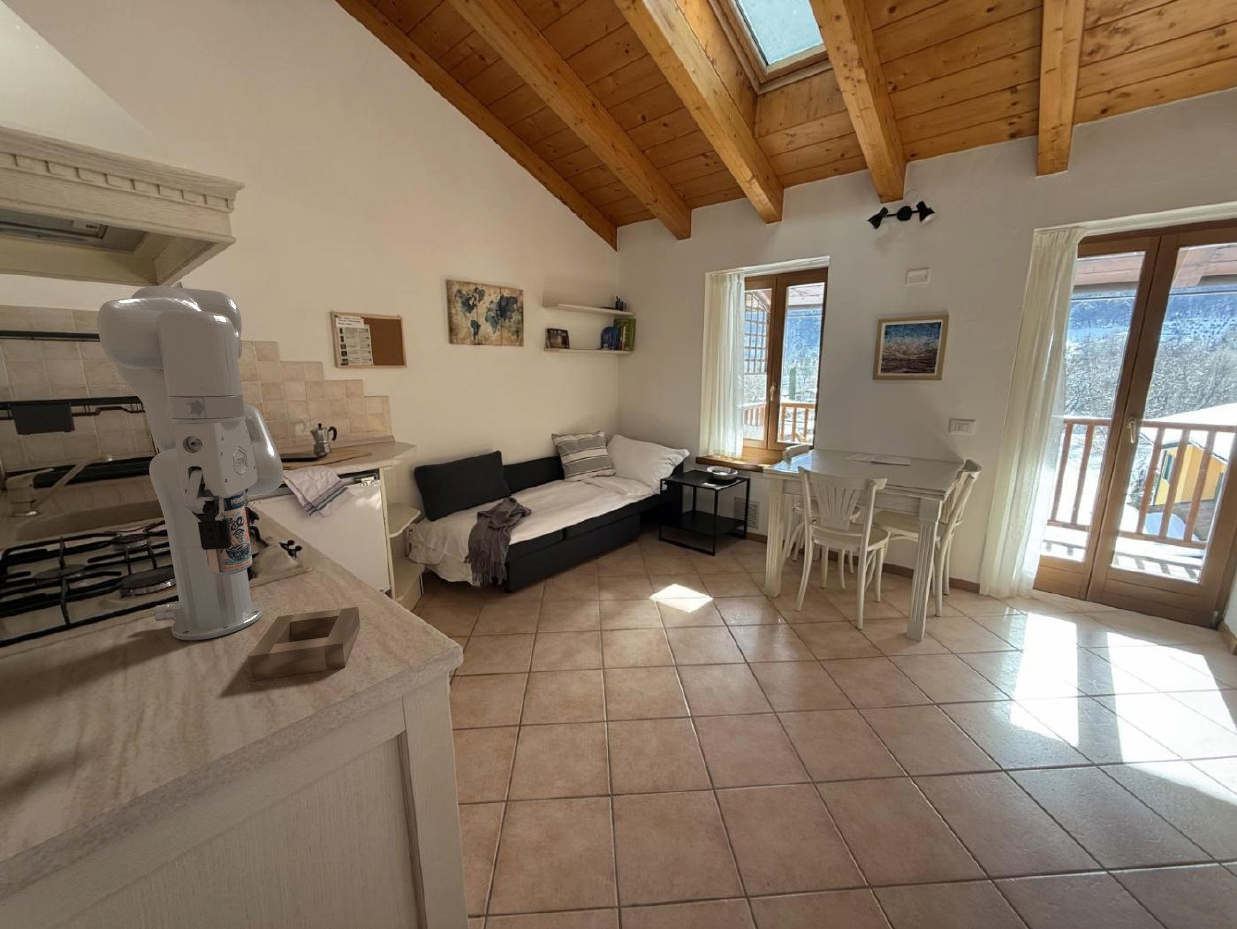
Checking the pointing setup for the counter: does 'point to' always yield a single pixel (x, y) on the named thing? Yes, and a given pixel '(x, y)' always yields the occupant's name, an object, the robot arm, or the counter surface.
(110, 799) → the counter surface
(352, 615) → the walnut socket block
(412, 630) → the counter surface
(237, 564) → the beer can
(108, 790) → the counter surface
